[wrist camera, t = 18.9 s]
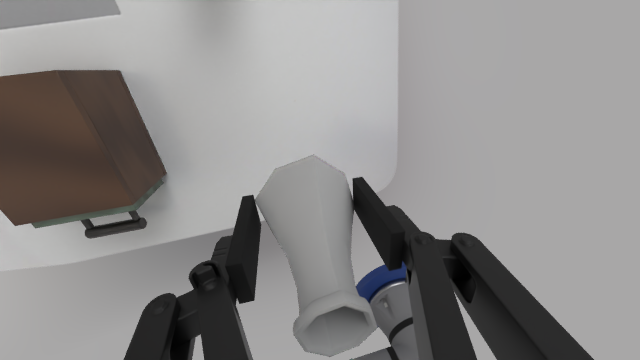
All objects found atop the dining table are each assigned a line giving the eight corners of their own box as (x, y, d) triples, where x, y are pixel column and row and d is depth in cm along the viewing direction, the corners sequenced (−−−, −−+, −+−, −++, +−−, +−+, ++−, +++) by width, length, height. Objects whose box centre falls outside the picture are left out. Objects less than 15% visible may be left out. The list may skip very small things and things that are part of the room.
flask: (298, 251, 20) (318, 399, 11) (236, 197, 17) (191, 345, 8) (367, 202, 19) (450, 321, 10) (315, 135, 16) (368, 222, 7)
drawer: (175, 206, 37) (152, 237, 30) (99, 220, 36) (58, 255, 29) (119, 90, 29) (71, 96, 22) (20, 103, 28) (-63, 113, 21)
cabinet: (167, 173, 36) (132, 205, 27) (79, 187, 34) (14, 226, 26) (119, 70, 29) (55, 70, 21) (9, 83, 28) (-108, 88, 19)
